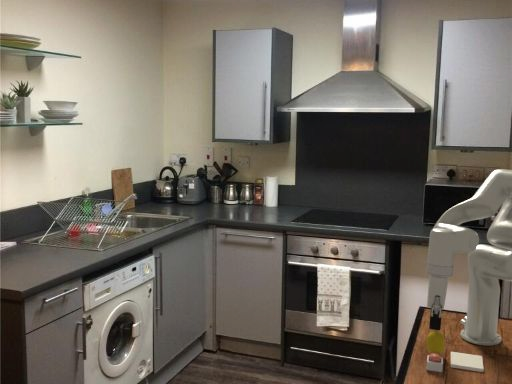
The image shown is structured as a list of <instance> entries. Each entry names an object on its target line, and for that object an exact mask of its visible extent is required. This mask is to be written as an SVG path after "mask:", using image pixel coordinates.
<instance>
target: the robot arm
mask: <svg viewBox="0 0 512 384" xmlns="http://www.w3.org/2000/svg"><path fill="white" fill-rule="evenodd" d="M498 210H499V211H498ZM496 213H497V215H496V216H495V214H496ZM493 216H495V218H494V219H493V221H492V222H491V224H490V226H489V228H488V231H487V233H486V240H487V241H488V243H489V244H483V243H480V236H479V234H478V233H477V231H475V230H473V229H471V228H469V227H464V226H460V225H463V223H467V222H471V221H477V220H479V221H480V220H483V219H487V218H491V217H493ZM490 244H491V245H490ZM456 253H463V254H467V266H468V277H469V278H468V279H469V280H468V294H467V295H468V297H467V308H466V309H467V310H466V316H465V317H464V318H463V319H461V320H460V322H459V323H460V324H462V325H463V326H464V328H463V329H461V331H460V333H459V334H460V337H461V338H462V339H463V340H465V341H466V342H469V343H471V344H473V345H474V344H475V345H479V346H490V347H491V346H497V345H499V344H500V343H501V342H502V337H501V335H500V334H499V333H497V332H498V322H499V307H500V296H501V287H500V286H501V285H500V282H499V280H502V281H507V282H512V169H505V168H499V169H495V170H493V171H492V172H490V174H488V176H487V177H486V179H485V180H484V181H483V182H482V184H481V185H480V187H479V188H478V189H477V190H476V191H475V193H474V195H472V197H470V198H469V199H467V200H464V201H462V202H460V203H457V204H456V205H454V206H452V207H451V208H448V210H446V211H445V212H444V213H443V214H442V215H441V216H440V217H439V219H438V220H437V221H436V223H435V224H434V226H433V227H432V229H431V230H430V232H429V239H428V250H427V263H426V264H427V266H426V274H427V275H429V278H428V279H429V280H428V286H427V300H426V302H427V303H426V307H427V308H428V309H429V308H430V315H429V327H428V329H430V330H433V331H441V327H442V311H443V310H444V308H445V304H446V300H447V299H446V298H447V292H448V282H449V279H450V278H452V277H453V275H454V267H455V265H454V264H455V254H456ZM498 279H499V280H498Z"/></svg>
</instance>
